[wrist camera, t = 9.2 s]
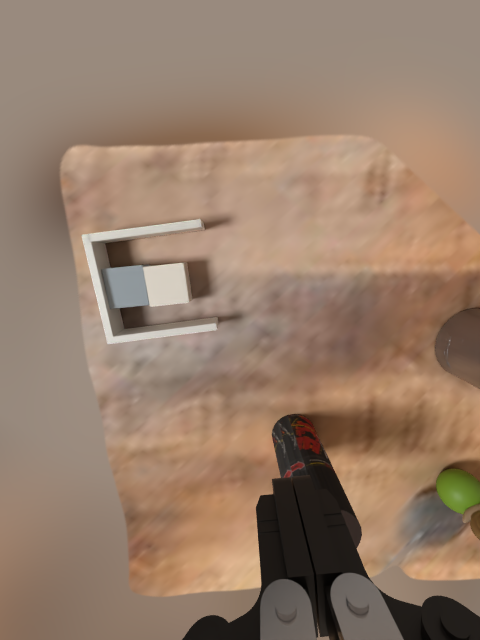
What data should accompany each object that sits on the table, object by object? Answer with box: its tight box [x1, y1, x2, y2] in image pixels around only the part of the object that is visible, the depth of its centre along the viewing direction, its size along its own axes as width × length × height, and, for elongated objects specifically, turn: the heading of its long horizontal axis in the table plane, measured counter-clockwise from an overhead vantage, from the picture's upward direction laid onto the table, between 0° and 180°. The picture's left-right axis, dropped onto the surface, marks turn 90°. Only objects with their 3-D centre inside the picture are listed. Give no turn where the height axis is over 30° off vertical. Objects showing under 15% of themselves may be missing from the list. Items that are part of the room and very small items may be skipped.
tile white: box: [143, 262, 192, 307], centre depth 34 cm, size 4×4×3 cm
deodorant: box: [272, 414, 362, 548], centre depth 33 cm, size 6×6×15 cm
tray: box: [82, 219, 218, 344], centre depth 33 cm, size 13×12×4 cm
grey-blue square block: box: [102, 264, 150, 309], centre depth 34 cm, size 4×4×3 cm
